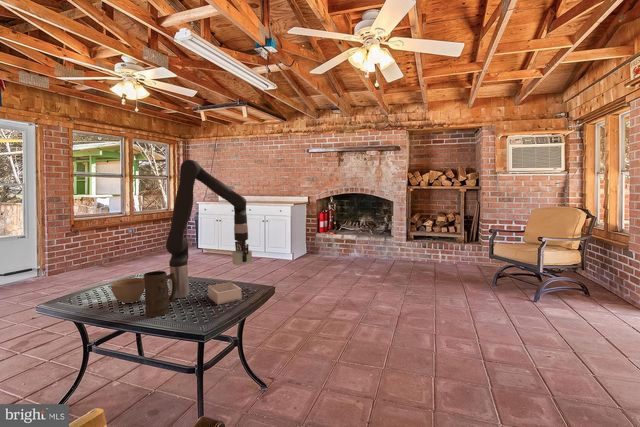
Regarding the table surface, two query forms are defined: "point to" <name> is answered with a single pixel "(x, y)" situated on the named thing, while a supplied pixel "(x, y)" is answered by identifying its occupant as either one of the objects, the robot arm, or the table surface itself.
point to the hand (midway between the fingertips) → (242, 260)
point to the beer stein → (158, 293)
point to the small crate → (238, 257)
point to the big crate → (224, 293)
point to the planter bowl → (128, 289)
